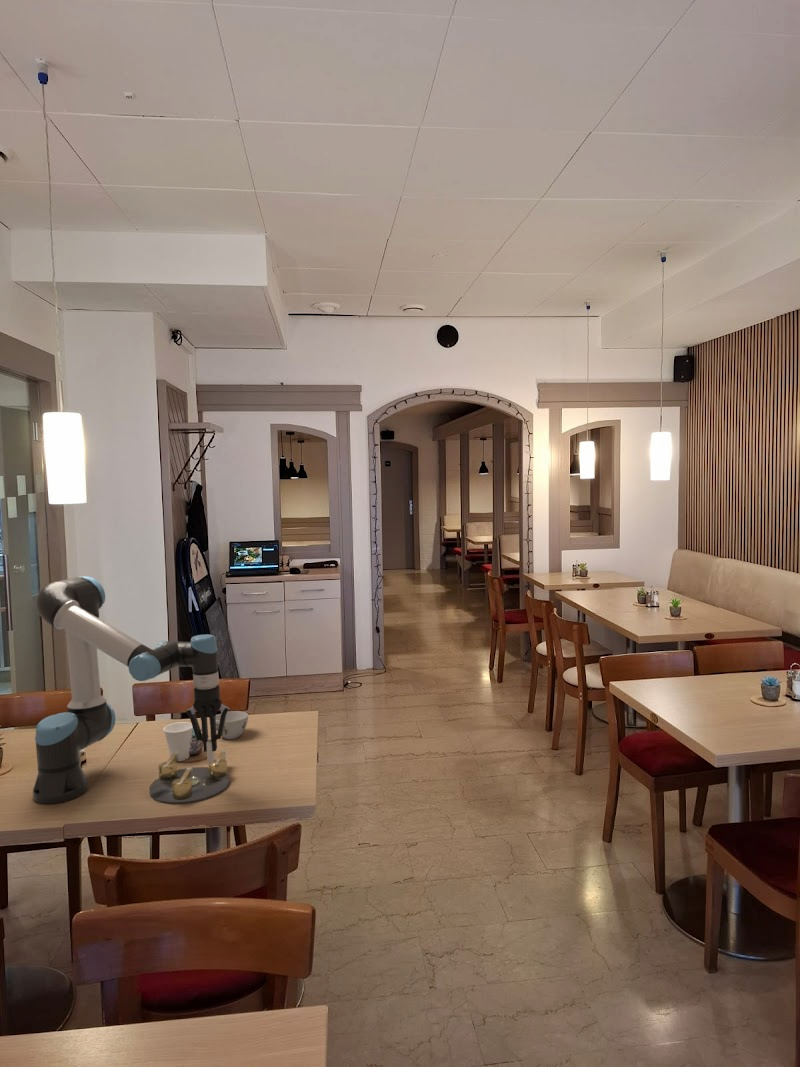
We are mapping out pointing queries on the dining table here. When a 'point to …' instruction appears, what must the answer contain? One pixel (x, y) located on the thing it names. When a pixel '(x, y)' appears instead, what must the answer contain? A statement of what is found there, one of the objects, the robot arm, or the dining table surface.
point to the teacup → (233, 724)
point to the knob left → (169, 768)
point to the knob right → (218, 766)
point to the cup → (179, 738)
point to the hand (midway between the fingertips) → (211, 761)
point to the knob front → (183, 785)
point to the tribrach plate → (200, 787)
